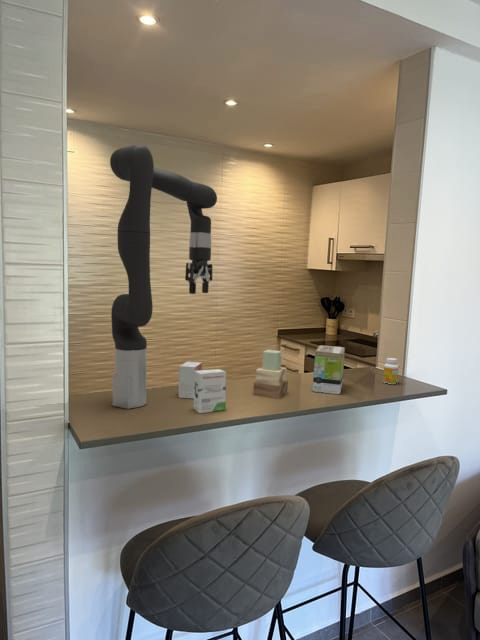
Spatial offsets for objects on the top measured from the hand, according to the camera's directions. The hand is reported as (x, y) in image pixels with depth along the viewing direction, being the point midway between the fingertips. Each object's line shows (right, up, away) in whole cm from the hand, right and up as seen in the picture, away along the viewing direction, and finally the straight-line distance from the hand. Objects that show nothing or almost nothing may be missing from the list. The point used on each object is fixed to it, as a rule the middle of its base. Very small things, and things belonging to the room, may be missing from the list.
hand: (198, 293), depth 158 cm
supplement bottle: (+73, -34, +17) cm, 82 cm away
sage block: (+25, -26, -5) cm, 36 cm away
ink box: (+5, -36, -24) cm, 44 cm away
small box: (-2, -34, -9) cm, 36 cm away
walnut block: (+25, -35, -4) cm, 43 cm away
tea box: (+46, -34, +6) cm, 58 cm away
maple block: (+25, -30, -4) cm, 39 cm away
